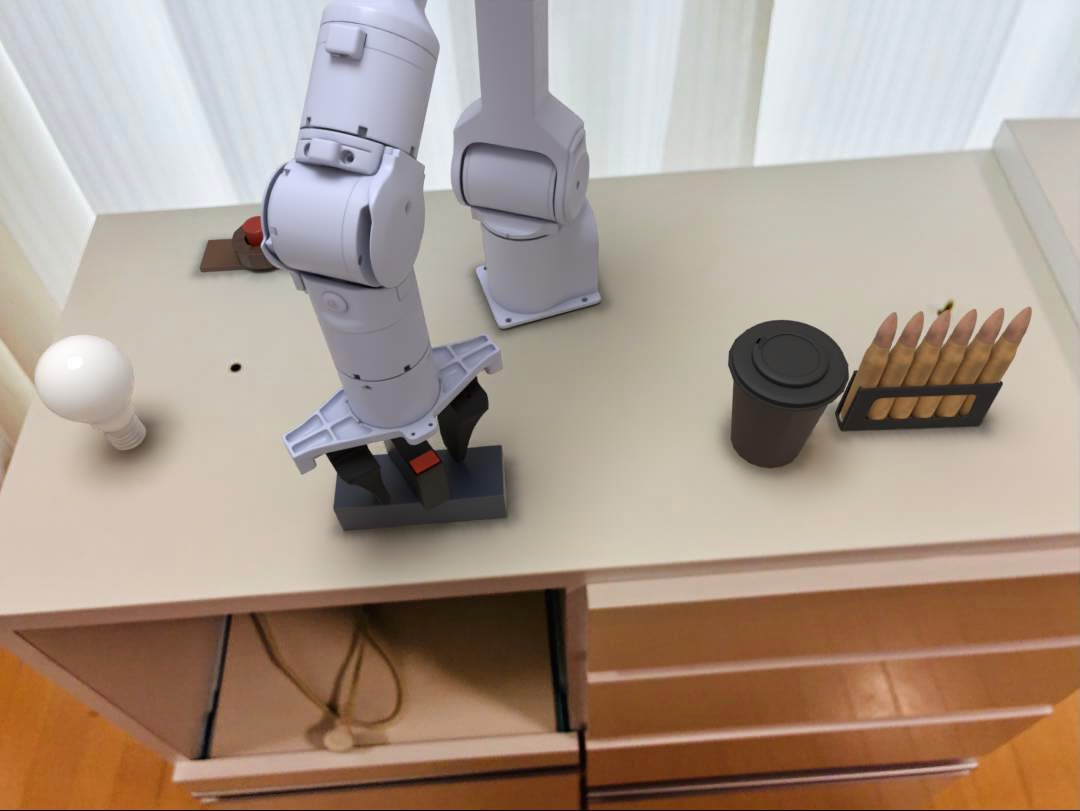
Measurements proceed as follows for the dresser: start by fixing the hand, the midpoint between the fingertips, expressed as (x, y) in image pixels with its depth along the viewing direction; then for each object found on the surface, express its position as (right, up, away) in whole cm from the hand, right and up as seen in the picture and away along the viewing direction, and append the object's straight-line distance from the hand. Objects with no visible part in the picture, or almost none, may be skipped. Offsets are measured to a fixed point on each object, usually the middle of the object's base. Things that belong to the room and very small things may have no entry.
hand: (418, 472), depth 59 cm
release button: (-17, +20, +19) cm, 33 cm away
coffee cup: (+26, +2, +5) cm, 27 cm away
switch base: (0, -2, +3) cm, 3 cm away
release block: (-17, +19, +20) cm, 33 cm away
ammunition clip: (+37, +4, +5) cm, 38 cm away
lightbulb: (-24, +2, +7) cm, 25 cm away
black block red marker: (0, 0, 0) cm, 0 cm away
